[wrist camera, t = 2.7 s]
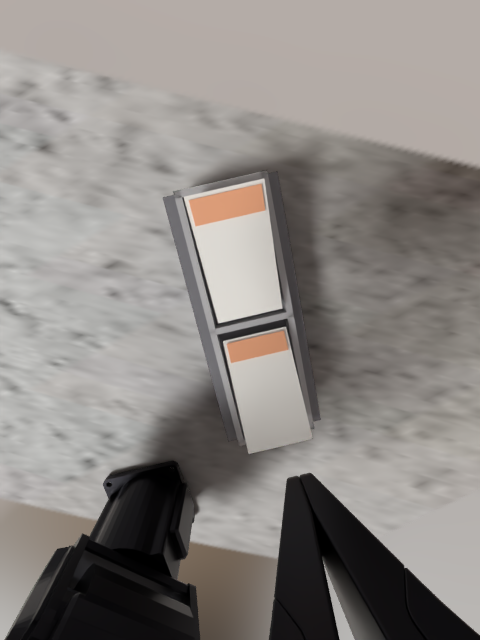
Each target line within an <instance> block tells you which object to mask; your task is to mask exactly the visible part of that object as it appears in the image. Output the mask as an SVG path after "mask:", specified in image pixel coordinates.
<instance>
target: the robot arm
mask: <svg viewBox="0 0 480 640" xmlns="http://www.w3.org/2000/svg"><path fill="white" fill-rule="evenodd" d="M170 467H173V468H174V469H172V468H170ZM109 482H111V483H109ZM103 486H104V489H105V491H106V493H107V496H108V498H109V500H108V501H107V503H106V505H105V507H104V509H103V511H102V513H101V515H100V517H99V519H98V521H97V523H96V525H95V527H94V529H93V531H92V532H91V535H90V536H87V535H84V534H82V535H81V536H80V538H79V539H78V540H77V542H76V543H75V544H74V546H69V547H65V548H60V549H57V550H56V551H55V553H54V554H53V556H52V557H51V559H50V561H49V562H48V564H47V565H46V567H45V569H44V570H43V572H42V574H41V575H40V577H39V579H38V580H37V582H36V584H35V585H34V587H33V589H32V590H31V592H30V594H29V596H28V597H27V599H26V601H25V603H24V605H23V606H22V608H21V610H20V612H19V614H18V616H17V617H16V619H15V621H14V623H13V625H12V627H11V629H10V631H9V632H8V634H7V636H6V638H5V640H200V632H199V620H198V607H197V595H196V586H193V585H191V584H185V583H183V582H181V581H178V580H177V579H178V572H179V566H180V560H182V559H185V558H186V556H187V555H188V549H189V541H190V534H191V527H192V523H193V522H194V518H195V514H194V503H193V500H192V497H191V494H190V491H189V488H188V485H187V484H186V483H185V482H184V481H183V478H182V475H181V472H180V468H179V465H178V463H176V462H174V461H171V462H166V463H162V464H158V465H154V466H149V467H145V468H141V469H137V470H132V471H128V472H124V473H120V474H116V475H111V476H108V477H107V478H106V479H105V481H104V483H103ZM322 559H323V560H322ZM323 562H324V564H323ZM324 565H325V567H326V570H327V572H328V575H329V577H330V580H331V582H332V584H333V587H334V589H335V592H336V594H337V597H338V599H339V602H340V604H341V607H342V609H343V612H344V614H345V617H346V619H347V621H348V624H349V626H350V629H351V631H352V634H353V636H354V639H355V640H480V635H479V634H478V633H476V632H475V631H474V630H473V629H472V628H471V627H470V626H468V625H467V624H466V623H465V622H464V621H463V620H462V619H460V618H459V617H458V616H457V615H456V614H455V613H454V612H452V611H451V610H450V609H449V608H448V607H447V606H446V605H445V604H444V603H443V602H441V601H440V600H439V599H438V598H437V597H436V596H435V595H434V594H433V593H432V592H431V591H430V590H429V589H428V588H427V587H426V586H425V585H424V584H422V582H421V581H420V580H419V579H418V578H416V577H415V575H414V574H413V573H412V572H410V571H409V570H408V569H407V568H404V565H403V564H402V563H401V562H400V561H399V560H398V559H397V558H396V557H395V556H394V555H393V554H392V553H391V552H390V551H389V550H388V549H387V548H386V547H385V546H384V545H383V544H382V543H381V542H380V541H379V540H378V539H377V538H376V537H375V536H374V535H373V534H372V533H371V532H370V531H369V530H368V529H367V528H366V527H365V526H364V525H363V524H362V523H361V522H360V521H359V520H358V519H357V518H356V517H355V516H354V515H353V514H352V513H351V512H350V511H349V510H348V509H347V508H346V507H345V506H344V505H343V504H342V503H341V502H340V501H339V500H338V499H337V498H336V497H335V496H334V495H333V494H332V493H331V492H330V491H329V490H328V489H327V488H326V487H325V486H324V485H323V484H322V483H321V482H320V481H319V480H318V479H317V478H316V477H315V476H314V475H313V474H311V473H307V474H303V475H300V477H299V476H294V477H290V478H288V479H287V483H286V492H285V501H284V511H283V520H282V529H281V538H280V548H279V557H278V567H277V576H276V586H275V594H274V597H275V599H274V602H273V611H272V621H271V628H270V635H269V640H339V636H338V631H337V626H336V621H335V616H334V612H333V607H332V602H331V597H330V593H329V588H328V583H327V579H326V574H325V569H324Z"/></svg>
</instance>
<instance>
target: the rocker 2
mask: <svg viewBox="0 0 480 640" xmlns="http://www.w3.org/2000/svg"><path fill="white" fill-rule="evenodd" d="M223 344H224V349H225V353H226V357H227V362H228V366H229V370H230V375H231V379H232V384H233V388H234V392H235V397H236V401H237V405H238V410H239V414H240V419H241V423H242V427H243V432H244V436H245V440H246V445H247V449H248V453H249V454H252V453H256V452H260V451H264V450H269V449H273V448H277V447H281V446H285V445H290V444H294V443H298V442H302V441H307V440H311V439H313V438H312V433H311V429H310V425H309V421H308V417H307V413H306V408H305V404H304V400H303V396H302V392H301V388H300V383H299V379H298V375H297V371H296V367H295V362H294V358H293V354H292V350H291V346H290V342H289V337H288V333H287V329H286V327H280V328H276V329H272V330H267V331H263V332H259V333H255V334H250V335H246V336H242V337H237V338H233V339H229V340H224V341H223Z"/></svg>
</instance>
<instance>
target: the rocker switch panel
mask: <svg viewBox="0 0 480 640" xmlns="http://www.w3.org/2000/svg"><path fill="white" fill-rule="evenodd" d="M260 179H265V186H266V194H267V201H268V208H269V215H270V222H271V230H272V237H273V244H274V251H275V258H276V266H277V273H278V280H279V287H280V294H281V302H282V309H278V310H274V311H270V312H265V313H261V314H257V315H252V316H248V317H244V318H239V319H235V320H231V321H227V322H222V323H218V320H217V317H216V313H215V309H214V306H213V302H212V298H211V295H210V291H209V288H208V284H207V280H206V277H205V273H204V269H203V266H202V262H201V258H200V255H199V251H198V248H197V244H196V240H195V237H194V233H193V229H192V226H191V222H190V218H189V215H188V211H187V207H186V204H185V200H184V197H185V196H189V195H194V194H198V193H203V192H207V191H211V190H216V189H220V188H224V187H229V186H233V185H238V184H242V183H246V182H251V181H255V180H260ZM173 193H174V195H172V196H167V197H163V200H164V204H165V208H166V212H167V215H168V219H169V223H170V226H171V230H172V234H173V238H174V241H175V245H176V249H177V252H178V256H179V260H180V263H181V267H182V271H183V275H184V278H185V282H186V286H187V289H188V293H189V297H190V301H191V304H192V308H193V312H194V315H195V319H196V323H197V327H198V330H199V334H200V338H201V341H202V345H203V349H204V352H205V356H206V360H207V364H208V367H209V371H210V375H211V378H212V382H213V386H214V390H215V393H216V397H217V401H218V404H219V408H220V412H221V416H222V419H223V423H224V427H225V430H226V434H227V438H228V441H232V440H236V439H238V443H239V446H243V445H246V440H245V436H244V432H243V427H242V423H241V419H240V414H239V410H238V405H237V401H236V397H235V392H234V388H233V384H232V379H231V375H230V370H229V366H228V362H227V357H226V353H225V349H224V344H223V341H224V340H229V339H233V338H237V337H242V336H246V335H250V334H255V333H259V332H263V331H267V330H272V329H276V328H280V327H286V329H287V333H288V337H289V342H290V346H291V350H292V354H293V358H294V362H295V367H296V371H297V375H298V379H299V383H300V388H301V392H302V396H303V400H304V404H305V408H306V413H307V417H308V421H309V425H310V429H314V424H313V421H317V420H321V418H320V412H319V406H318V401H317V395H316V389H315V383H314V378H313V372H312V366H311V361H310V355H309V349H308V343H307V338H306V332H305V326H304V320H303V315H302V309H301V303H300V298H299V292H298V286H297V280H296V275H295V269H294V263H293V257H292V252H291V246H290V240H289V235H288V229H287V223H286V217H285V212H284V206H283V200H282V194H281V189H280V183H279V177H278V172H272V173H268V172H267V170H265V171H261V172H256V173H252V174H248V175H243V176H239V177H234V178H230V179H226V180H221V181H217V182H213V183H208V184H204V185H199V186H195V187H191V188H186V189H182V190H177V191H173Z"/></svg>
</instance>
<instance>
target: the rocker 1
mask: <svg viewBox="0 0 480 640" xmlns="http://www.w3.org/2000/svg"><path fill="white" fill-rule="evenodd" d="M184 200H185V204H186V207H187V211H188V215H189V218H190V222H191V226H192V229H193V233H194V237H195V240H196V244H197V248H198V251H199V255H200V258H201V262H202V266H203V269H204V273H205V277H206V280H207V284H208V288H209V291H210V295H211V298H212V302H213V306H214V309H215V313H216V317H217V320H218V323H222V322H227V321H231V320H235V319H239V318H244V317H248V316H252V315H257V314H261V313H265V312H270V311H274V310H278V309H282V302H281V294H280V287H279V280H278V273H277V266H276V258H275V251H274V244H273V237H272V230H271V222H270V215H269V208H268V201H267V194H266V186H265V179H260V180H255V181H251V182H246V183H242V184H238V185H233V186H229V187H224V188H220V189H216V190H211V191H207V192H203V193H198V194H194V195H189V196H185V197H184Z"/></svg>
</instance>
